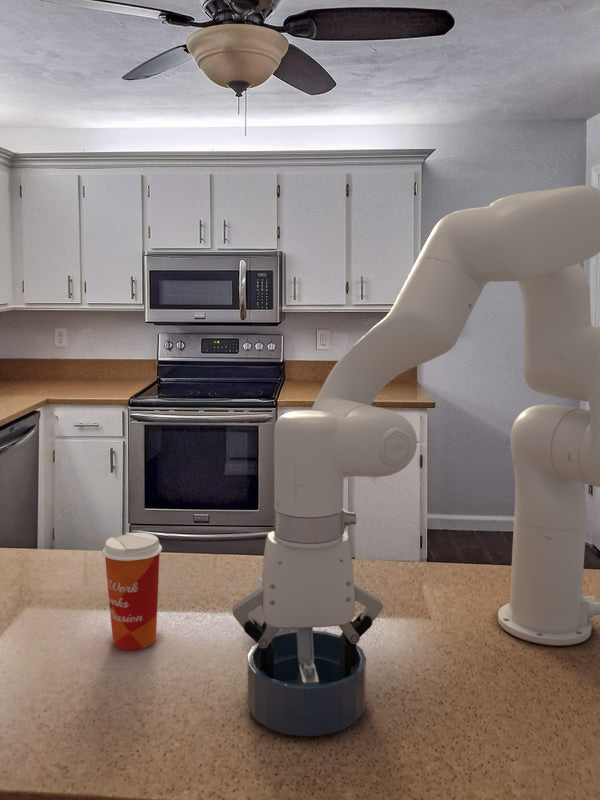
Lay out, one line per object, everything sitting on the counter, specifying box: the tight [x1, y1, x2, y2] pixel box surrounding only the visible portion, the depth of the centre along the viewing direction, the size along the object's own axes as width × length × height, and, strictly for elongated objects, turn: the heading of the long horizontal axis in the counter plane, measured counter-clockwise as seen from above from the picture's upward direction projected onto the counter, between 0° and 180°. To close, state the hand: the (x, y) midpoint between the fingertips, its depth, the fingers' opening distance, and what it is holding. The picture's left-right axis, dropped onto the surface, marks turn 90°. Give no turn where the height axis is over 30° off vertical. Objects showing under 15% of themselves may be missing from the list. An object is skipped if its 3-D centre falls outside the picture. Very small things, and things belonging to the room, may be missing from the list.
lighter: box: [296, 627, 319, 685], centre depth 83 cm, size 7×2×8 cm, turn 7°
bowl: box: [247, 630, 367, 737], centre depth 83 cm, size 13×13×6 cm
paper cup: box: [101, 532, 163, 651], centre depth 97 cm, size 8×8×14 cm
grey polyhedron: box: [249, 577, 296, 644], centre depth 99 cm, size 8×9×10 cm
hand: (307, 673), depth 83 cm, fingers open, 8 cm apart
